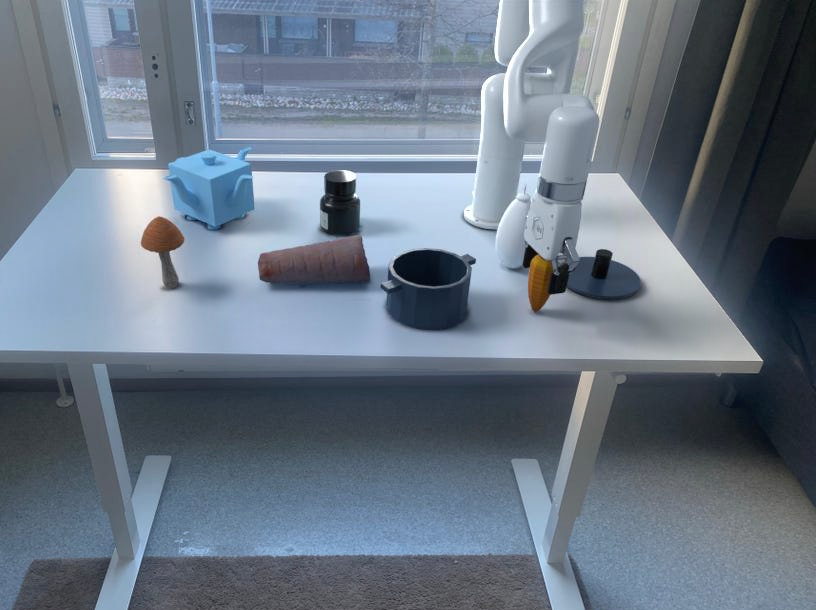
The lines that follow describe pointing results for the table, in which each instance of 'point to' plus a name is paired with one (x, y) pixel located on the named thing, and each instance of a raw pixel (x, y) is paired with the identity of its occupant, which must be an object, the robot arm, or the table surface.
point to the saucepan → (428, 287)
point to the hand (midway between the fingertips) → (542, 279)
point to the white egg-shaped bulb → (513, 232)
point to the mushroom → (163, 246)
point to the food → (317, 263)
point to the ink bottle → (340, 204)
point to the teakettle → (212, 186)
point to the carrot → (539, 282)
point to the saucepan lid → (603, 277)
